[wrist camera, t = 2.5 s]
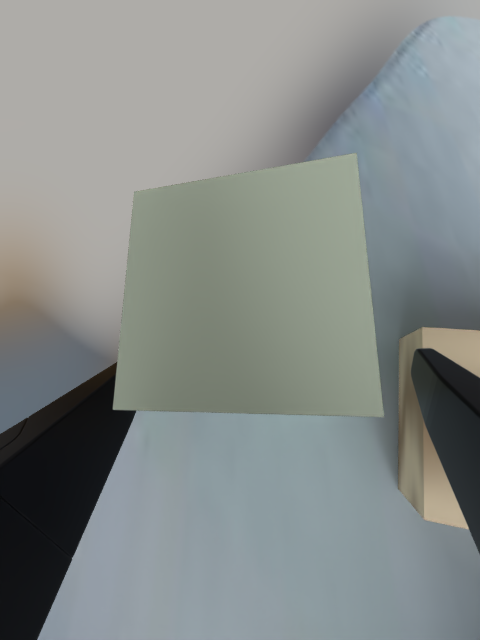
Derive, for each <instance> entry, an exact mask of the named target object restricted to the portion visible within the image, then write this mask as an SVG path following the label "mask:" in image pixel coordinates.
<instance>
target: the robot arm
mask: <svg viewBox="0 0 480 640" xmlns="http://www.w3.org/2000/svg"><path fill="white" fill-rule="evenodd" d="M116 371H117V362H116V363H115V364H113V365H112V366H110V367H108V368H107V369H105V370H103V371H102V372H100V373H99V374H97V375H95V376H94V377H92V378H91V379H89V380H87V381H86V382H84V383H82V384H81V385H79V386H78V387H76V388H74V389H73V390H71V391H70V392H68V393H66V394H65V395H63V396H62V397H60V398H58V399H57V400H55V401H53V402H52V403H50V404H49V405H47V406H45V407H44V408H42V409H40V410H39V411H37V412H36V413H34V414H32V415H31V416H29V418H26V419H24V420H23V421H21V422H19V423H18V424H16V425H14V426H13V427H11V428H9V429H8V430H6V431H5V432H3V433H1V434H0V640H37V639H38V637H39V634H40V632H41V630H42V627H43V625H44V623H45V620H46V618H47V616H48V614H49V611H50V609H51V607H52V604H53V602H54V600H55V598H56V595H57V593H58V591H59V588H60V586H61V584H62V581H63V579H64V577H65V575H66V572H67V570H68V568H69V565H70V563H71V561H72V557H73V556H74V554H75V551H76V549H77V547H78V544H79V542H80V540H81V538H82V535H83V533H84V531H85V528H86V526H87V524H88V522H89V519H90V517H91V515H92V512H93V510H94V508H95V506H96V503H97V501H98V499H99V496H100V494H101V492H102V490H103V487H104V485H105V483H106V480H107V478H108V476H109V473H110V471H111V469H112V467H113V464H114V462H115V460H116V457H117V455H118V453H119V451H120V448H121V446H122V444H123V441H124V439H125V437H126V435H127V432H128V430H129V428H130V425H131V423H132V421H133V418H134V416H135V413H136V410H113V401H114V391H115V381H116ZM411 378H412V382H413V385H414V389H415V392H416V396H417V399H418V403H419V406H420V410H421V413H422V417H423V420H424V423H425V426H426V428H427V431H428V434H429V436H430V438H431V441H432V443H433V445H434V448H435V450H436V452H437V455H438V457H439V459H440V462H441V464H442V467H443V469H444V471H445V474H446V476H447V478H448V481H449V483H450V485H451V488H452V490H453V492H454V495H455V497H456V499H457V502H458V504H459V507H460V509H461V511H462V514H463V516H464V518H465V521H466V523H467V525H468V528H469V530H470V532H471V535H472V537H473V539H474V542H475V544H476V547H477V549H478V551H479V554H480V377H478V376H476V375H475V374H473V373H472V372H470V371H468V370H467V369H465V368H463V367H462V366H460V365H459V364H457V363H455V362H454V361H452V360H451V359H449V358H447V357H446V356H444V355H442V354H441V353H439V352H438V351H436V350H434V349H432V348H418V349H416V350H415V352H414V356H413V361H412V366H411Z"/></svg>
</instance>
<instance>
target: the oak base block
mask: <svg viewBox="0 0 480 640" xmlns="http://www.w3.org/2000/svg"><path fill="white" fill-rule="evenodd" d="M418 348H432V349H434V350H436V351H438V352H439V353H441V354H442V355H444V356H446V357H447V358H449V359H451V360H452V361H454V362H455V363H457V364H459V365H460V366H462V367H463V368H465V369H467V370H468V371H470V372H472V373H473V374H475V375H476V376H478V377H480V330H463V329H447V328H430V327H421V328H420V329H418V330H416V331H414V332H412V333H410V334H408V335H406V336H404V337H402V338H401V339H399V431H398V489H399V490H400V491H401V493H402V494H403V495H404V496H405V497H406V499H407V500H408V501H409V502H410V503H411V505H412V506H413V507H414V508H415V509H416V511H417V512H418V513H419V514H420V515H421V517H422V518H423V519H424V520H427V521H432V522H436V523H441V524H446V525H450V526H455V527H460V528H464V529H469V528H468V525H467V523H466V521H465V518H464V516H463V514H462V511H461V509H460V507H459V504H458V502H457V499H456V497H455V495H454V492H453V490H452V488H451V485H450V483H449V481H448V478H447V476H446V474H445V471H444V469H443V467H442V464H441V462H440V459H439V457H438V455H437V452H436V450H435V448H434V445H433V443H432V441H431V438H430V436H429V434H428V431H427V428H426V426H425V423H424V420H423V417H422V413H421V410H420V406H419V403H418V399H417V396H416V392H415V389H414V385H413V382H412V378H411V366H412V361H413V356H414V352H415V350H416V349H418Z"/></svg>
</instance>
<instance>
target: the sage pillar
mask: <svg viewBox="0 0 480 640" xmlns="http://www.w3.org/2000/svg"><path fill="white" fill-rule="evenodd" d="M113 410H138V411H175V412H212V413H249V414H286V415H323V416H359V417H384V411H383V402H382V392H381V383H380V373H379V363H378V354H377V344H376V335H375V325H374V315H373V306H372V296H371V287H370V277H369V267H368V258H367V248H366V239H365V229H364V220H363V210H362V200H361V191H360V181H359V172H358V162H357V153H353V154H347V155H342V156H336V157H330V158H324V159H319V160H313V161H307V162H302V163H296V164H290V165H285V166H279V167H273V168H268V169H262V170H256V171H250V172H245V173H240V174H234V175H228V176H223V177H216V178H211V179H205V180H200V181H193V182H188V183H182V184H176V185H171V186H165V187H159V188H154V189H148V190H142V191H136V192H134V199H133V209H132V219H131V229H130V239H129V249H128V260H127V270H126V280H125V290H124V300H123V310H122V320H121V331H120V340H119V351H118V361H117V371H116V381H115V391H114V401H113Z"/></svg>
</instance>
